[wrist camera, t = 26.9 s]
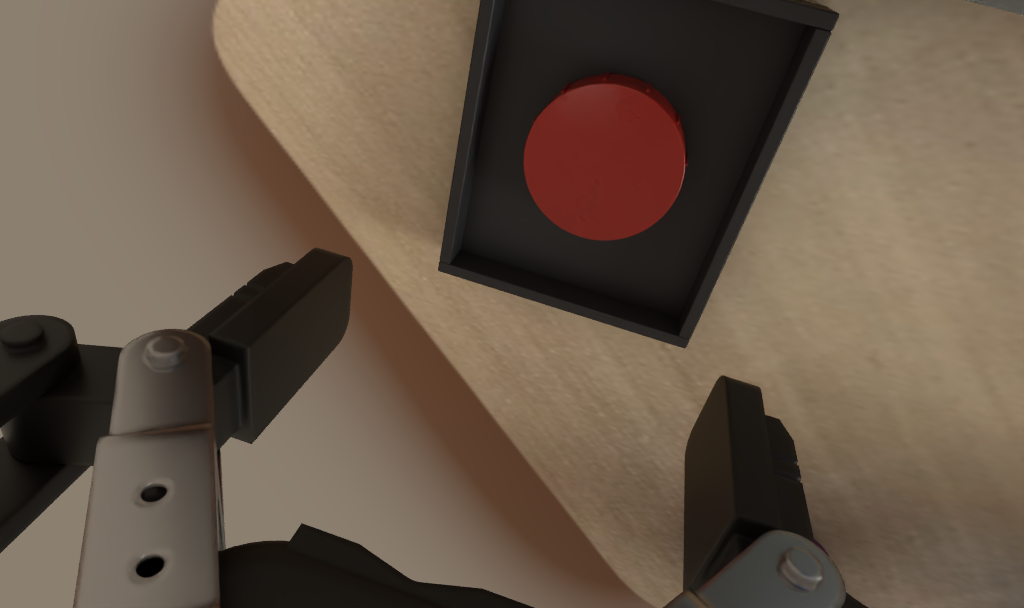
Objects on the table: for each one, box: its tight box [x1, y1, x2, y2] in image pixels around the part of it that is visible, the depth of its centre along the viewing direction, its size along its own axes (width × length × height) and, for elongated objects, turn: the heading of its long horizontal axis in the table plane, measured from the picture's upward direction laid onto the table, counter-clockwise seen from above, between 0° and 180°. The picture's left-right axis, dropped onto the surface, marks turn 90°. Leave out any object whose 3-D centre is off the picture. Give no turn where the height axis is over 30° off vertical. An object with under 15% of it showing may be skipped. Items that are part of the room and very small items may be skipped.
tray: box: [438, 0, 839, 348], centre depth 23 cm, size 13×11×2 cm
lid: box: [523, 71, 688, 240], centre depth 23 cm, size 6×6×2 cm
